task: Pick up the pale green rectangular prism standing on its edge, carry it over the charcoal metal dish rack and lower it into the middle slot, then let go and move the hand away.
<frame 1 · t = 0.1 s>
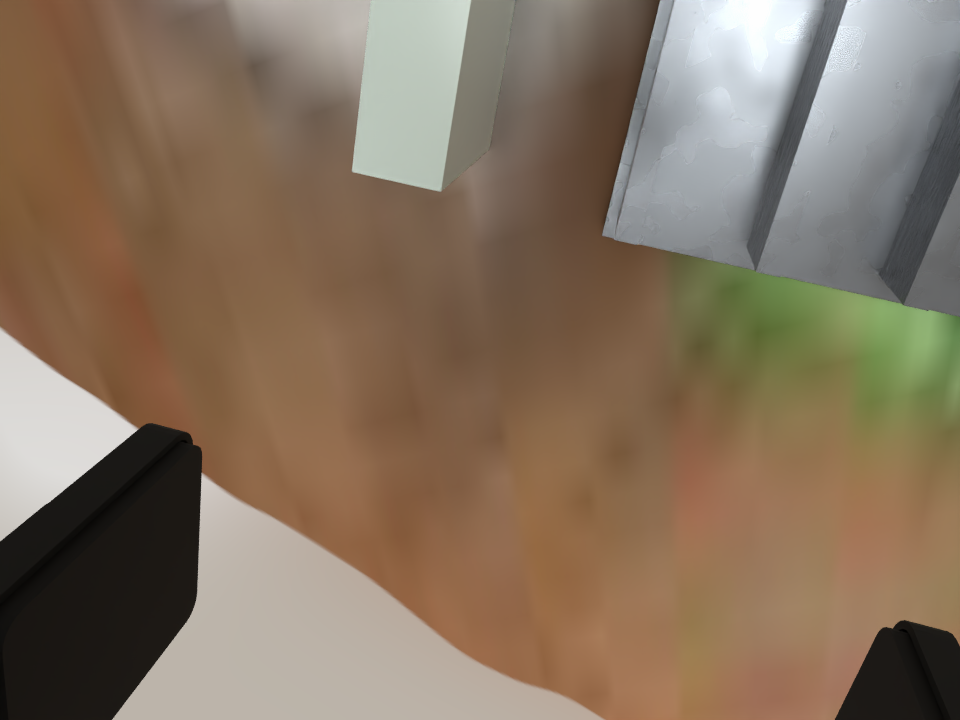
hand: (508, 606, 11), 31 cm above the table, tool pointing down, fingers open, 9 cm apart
rack: (860, 137, 36), on the table
pale green rectangular prism: (468, 55, 38), on the table
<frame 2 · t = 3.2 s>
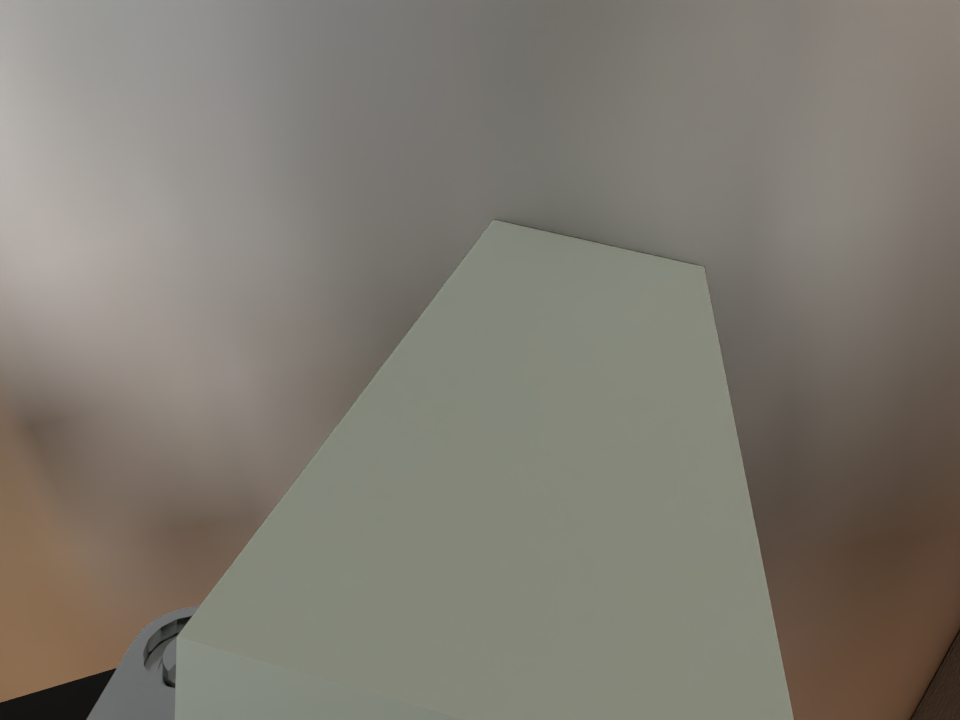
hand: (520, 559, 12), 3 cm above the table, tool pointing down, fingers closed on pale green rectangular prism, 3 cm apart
pale green rectangular prism: (546, 450, 15), on the table, touching gripper
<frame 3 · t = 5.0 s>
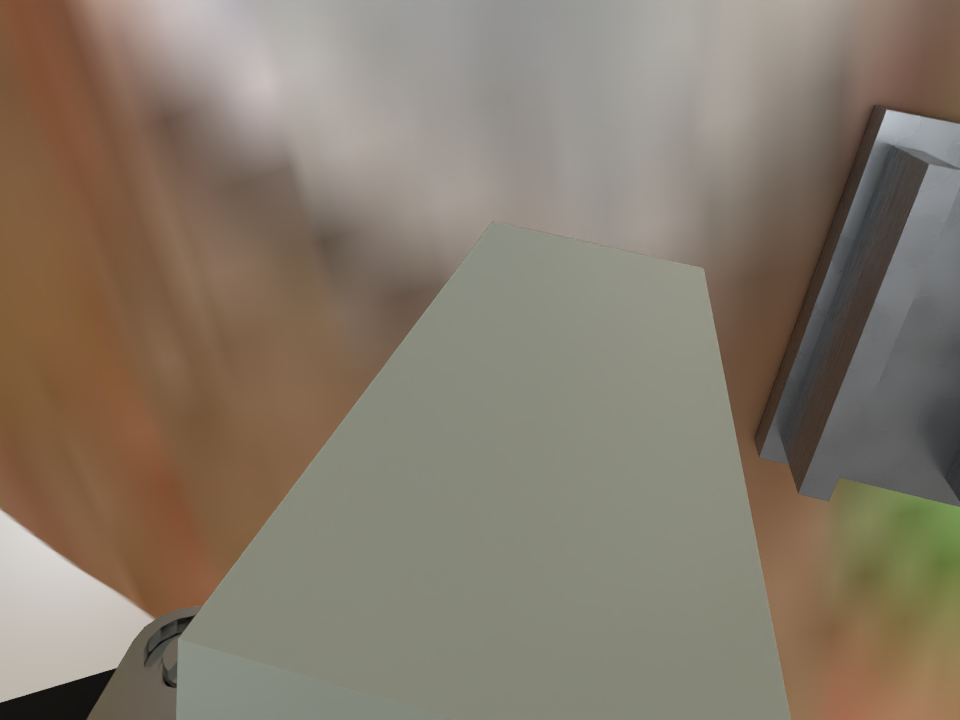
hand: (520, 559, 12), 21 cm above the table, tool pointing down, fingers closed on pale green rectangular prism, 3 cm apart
pale green rectangular prism: (546, 451, 15), point 17 cm above the table, touching gripper
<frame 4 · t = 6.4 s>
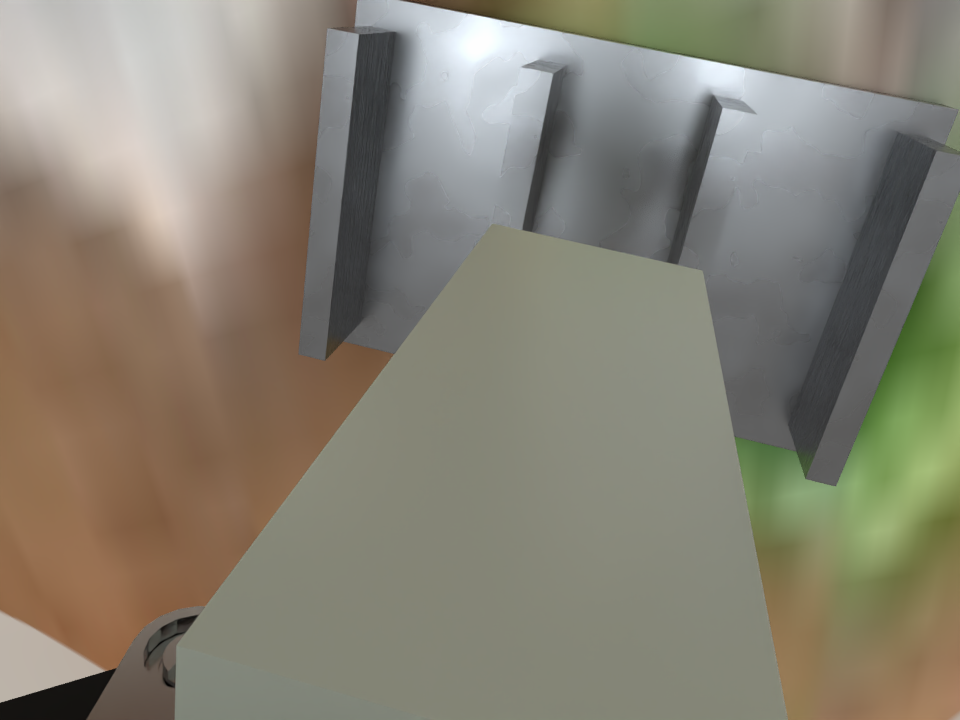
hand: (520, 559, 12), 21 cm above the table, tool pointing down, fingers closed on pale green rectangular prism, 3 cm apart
rack: (603, 227, 31), on the table
pale green rectangular prism: (545, 453, 15), point 18 cm above the table, touching gripper
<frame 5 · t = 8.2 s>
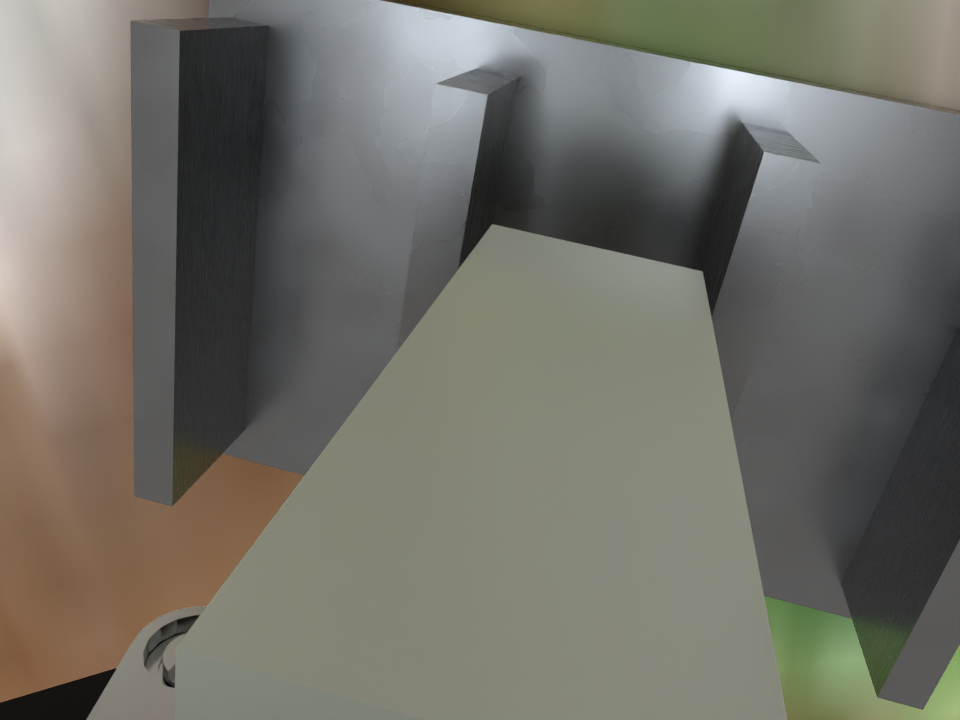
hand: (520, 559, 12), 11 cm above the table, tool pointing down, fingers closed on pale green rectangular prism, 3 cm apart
rack: (579, 304, 22), on the table
pale green rectangular prism: (545, 454, 15), point 8 cm above the table, touching gripper
when the fingers open (6 cm above the table, at t = 9.9 s): pale green rectangular prism drops 1 cm, resting on rack.
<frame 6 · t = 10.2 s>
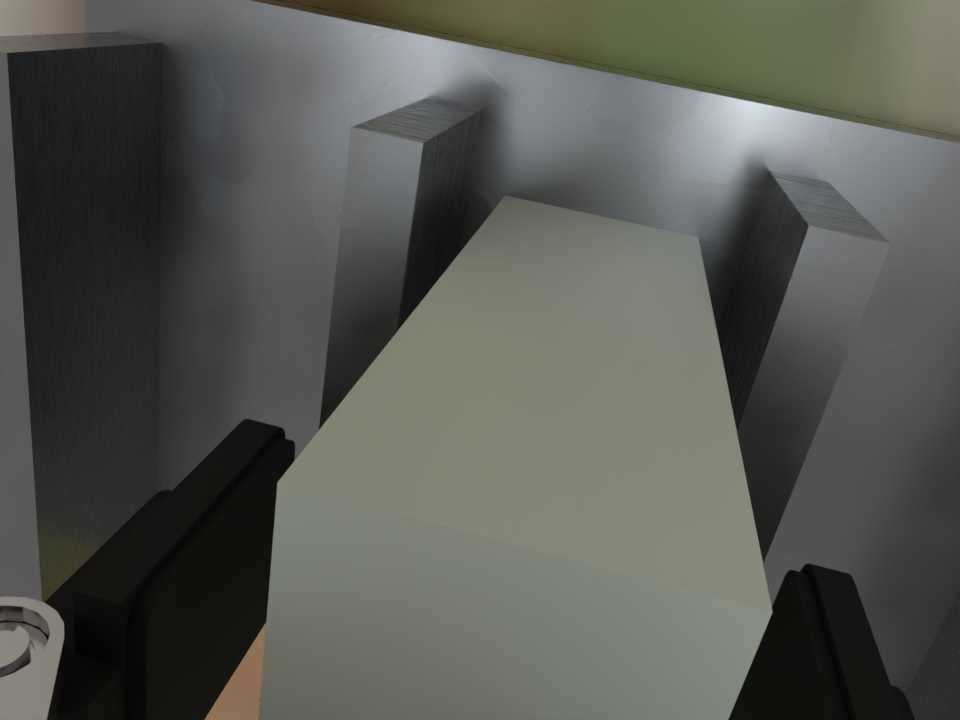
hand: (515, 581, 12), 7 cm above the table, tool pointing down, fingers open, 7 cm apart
rack: (562, 385, 18), on the table
pale green rectangular prism: (554, 410, 16), point 1 cm above the table, touching rack
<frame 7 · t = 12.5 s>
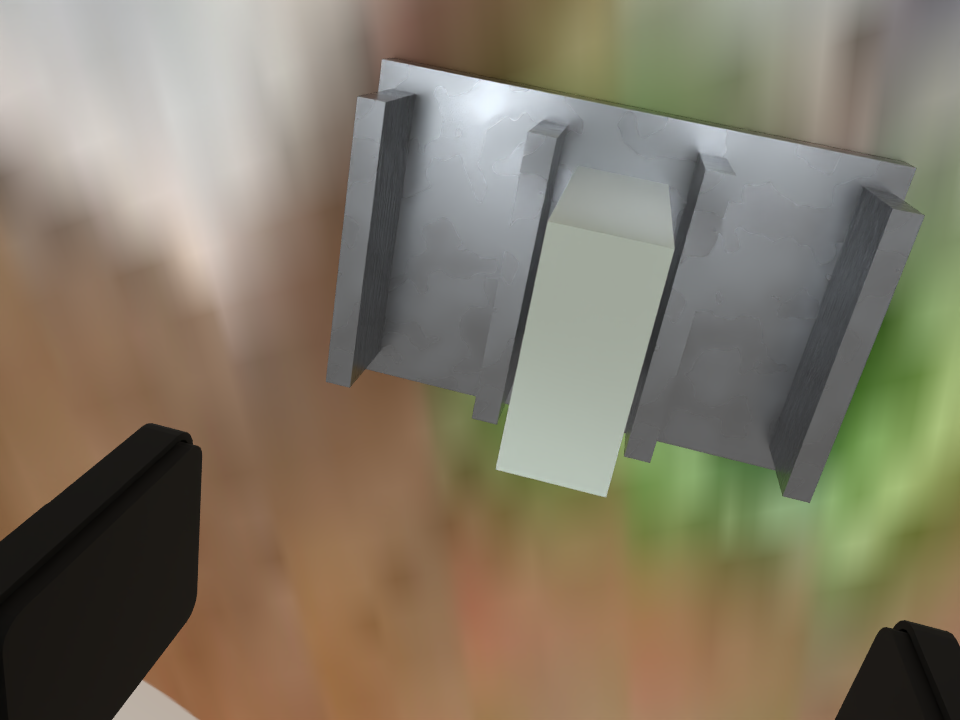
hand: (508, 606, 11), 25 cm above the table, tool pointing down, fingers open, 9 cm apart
rack: (601, 267, 34), on the table
pale green rectangular prism: (599, 273, 33), point 1 cm above the table, touching rack
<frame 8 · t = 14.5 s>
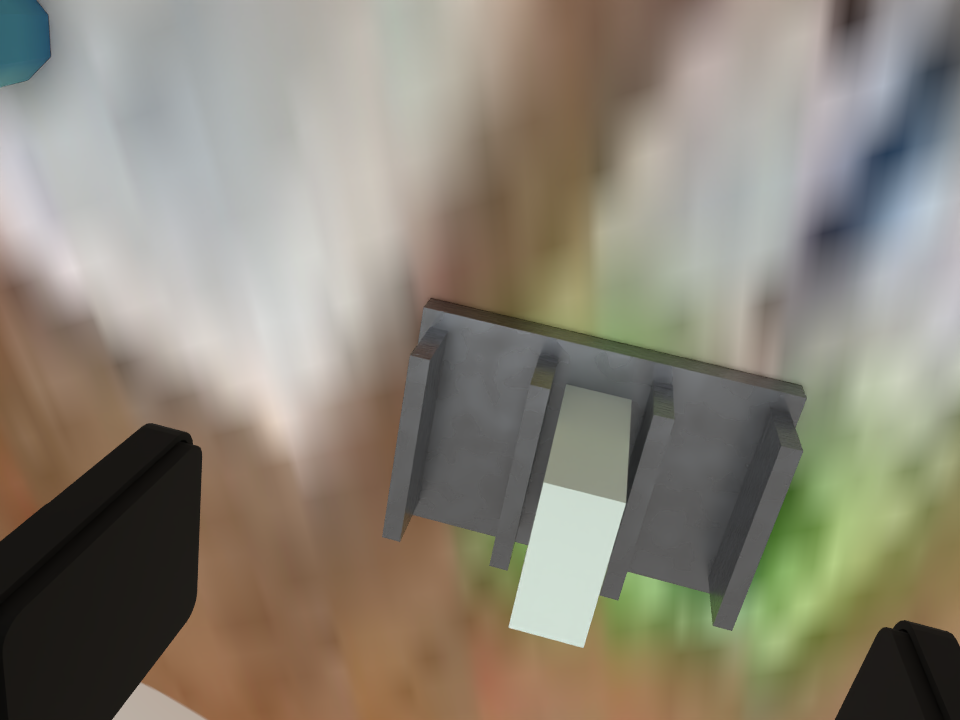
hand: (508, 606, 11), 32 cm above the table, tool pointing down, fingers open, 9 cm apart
rack: (584, 445, 46), on the table
pale green rectangular prism: (582, 456, 45), point 1 cm above the table, touching rack
cup: (5, 43, 44), on the table
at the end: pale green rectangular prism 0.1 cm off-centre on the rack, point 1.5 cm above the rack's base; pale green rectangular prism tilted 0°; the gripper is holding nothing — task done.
